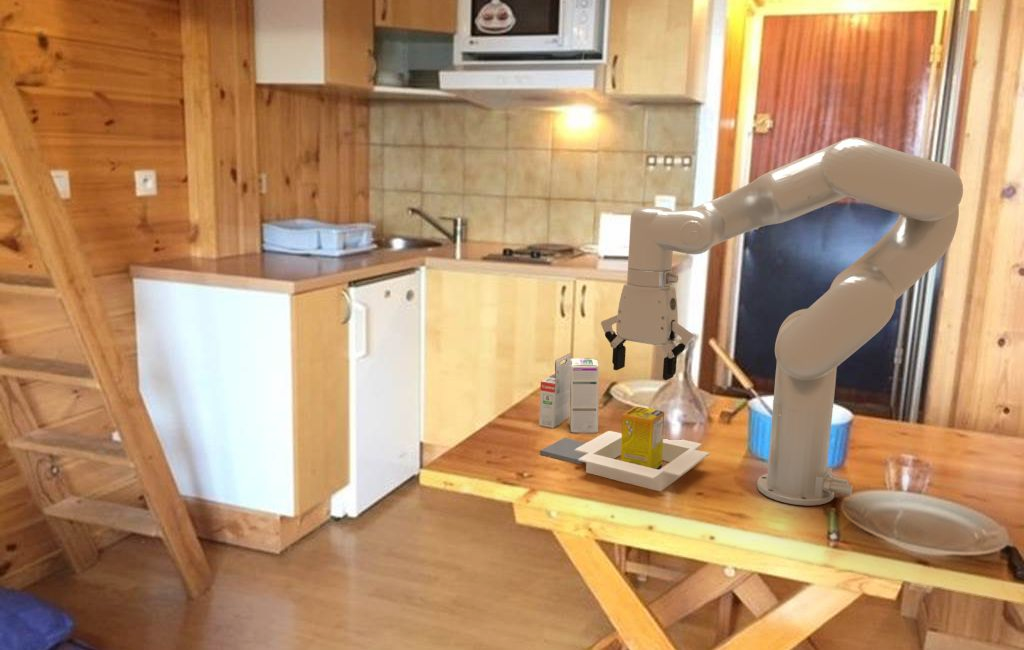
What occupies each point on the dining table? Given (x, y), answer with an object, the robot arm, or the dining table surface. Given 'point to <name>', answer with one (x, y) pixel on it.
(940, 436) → the dining table surface
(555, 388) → the ink box
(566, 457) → the coaster
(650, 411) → the supplement box
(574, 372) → the syrup box
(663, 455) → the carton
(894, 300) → the robot arm
